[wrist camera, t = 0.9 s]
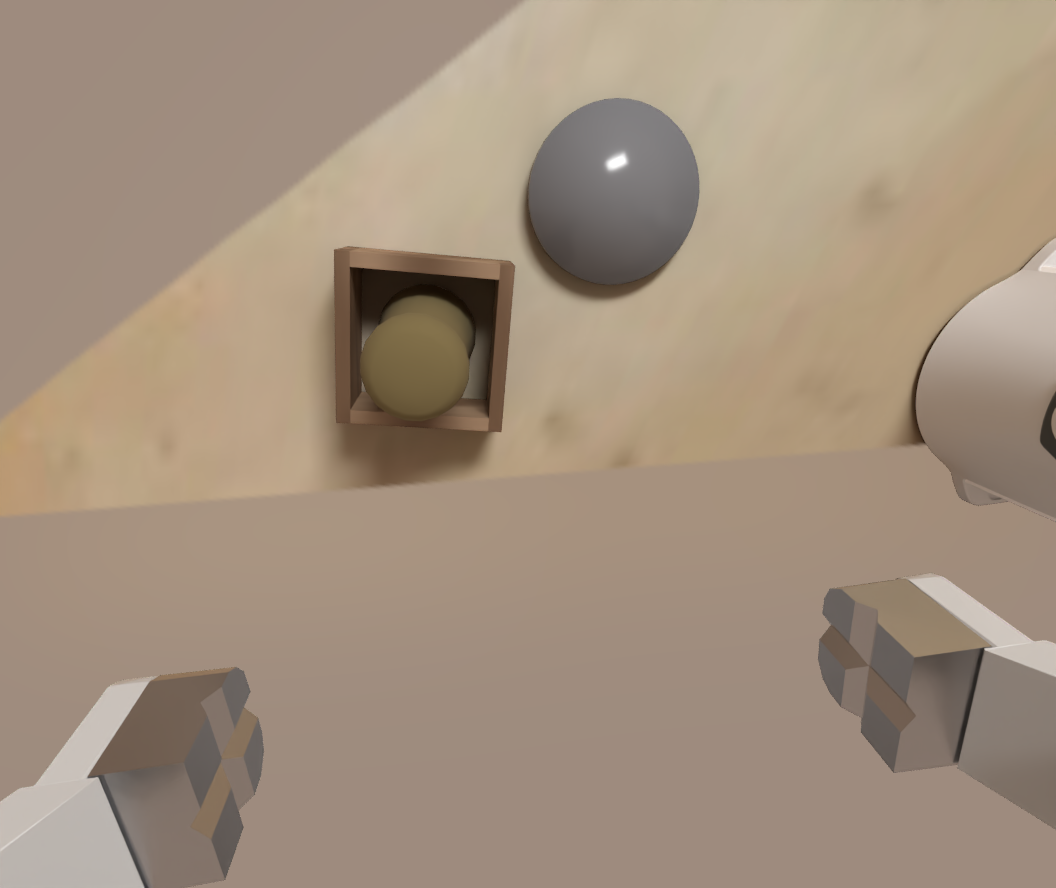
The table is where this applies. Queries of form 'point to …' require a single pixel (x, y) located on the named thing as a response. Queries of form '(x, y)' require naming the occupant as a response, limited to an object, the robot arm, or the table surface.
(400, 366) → the cork
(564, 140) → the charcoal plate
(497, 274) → the walnut holder
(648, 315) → the table surface
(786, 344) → the table surface
